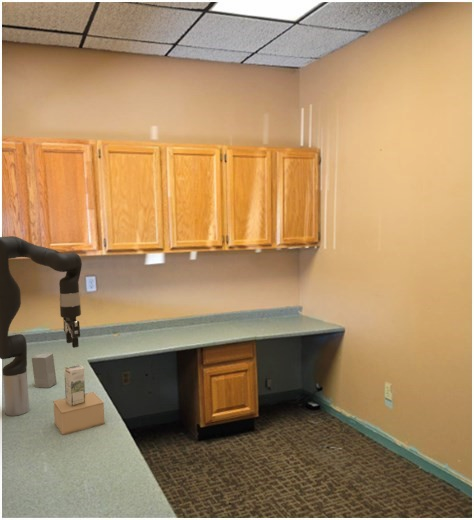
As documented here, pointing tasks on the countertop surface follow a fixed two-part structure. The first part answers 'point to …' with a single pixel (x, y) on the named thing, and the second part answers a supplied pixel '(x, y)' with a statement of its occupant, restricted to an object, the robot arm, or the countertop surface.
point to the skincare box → (44, 370)
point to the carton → (79, 419)
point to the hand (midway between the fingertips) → (72, 345)
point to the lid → (90, 401)
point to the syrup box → (74, 385)
